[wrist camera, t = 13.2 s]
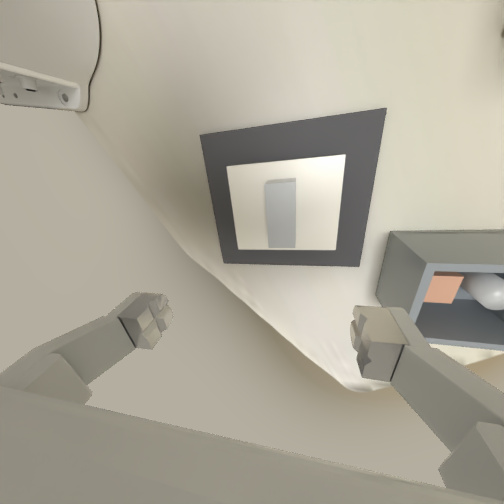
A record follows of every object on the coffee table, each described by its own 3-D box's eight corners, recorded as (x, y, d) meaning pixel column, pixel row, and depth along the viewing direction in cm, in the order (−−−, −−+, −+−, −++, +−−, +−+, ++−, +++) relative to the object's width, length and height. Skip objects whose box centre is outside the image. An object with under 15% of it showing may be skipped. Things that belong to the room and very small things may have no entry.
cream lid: (242, 242, 29) (231, 260, 24) (232, 165, 24) (215, 168, 19) (332, 242, 26) (340, 263, 21) (341, 154, 21) (353, 155, 16)
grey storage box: (375, 294, 29) (399, 340, 22) (390, 231, 24) (426, 263, 17) (476, 300, 26) (541, 354, 19) (514, 229, 21) (617, 267, 14)
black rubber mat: (224, 261, 32) (223, 263, 31) (201, 135, 24) (199, 135, 23) (358, 264, 27) (359, 266, 27) (384, 108, 19) (386, 107, 19)
